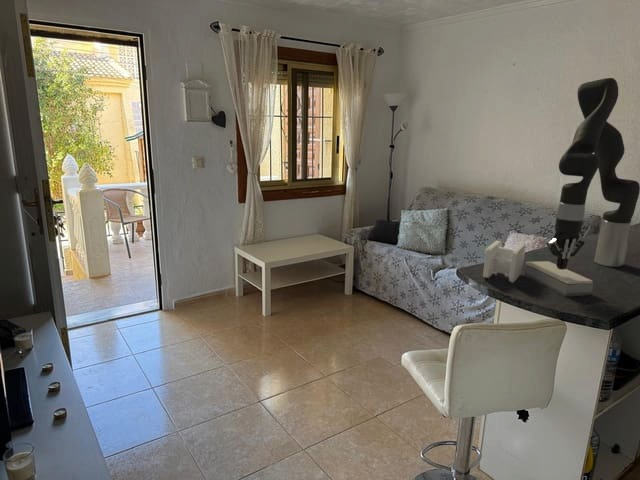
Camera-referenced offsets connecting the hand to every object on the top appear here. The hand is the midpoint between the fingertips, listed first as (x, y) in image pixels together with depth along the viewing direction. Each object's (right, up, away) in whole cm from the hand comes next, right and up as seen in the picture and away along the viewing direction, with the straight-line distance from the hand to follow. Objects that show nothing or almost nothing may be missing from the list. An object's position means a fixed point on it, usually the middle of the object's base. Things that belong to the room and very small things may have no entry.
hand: (561, 268), depth 147 cm
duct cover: (+1, -2, +5) cm, 6 cm away
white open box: (+2, -6, +6) cm, 9 cm away
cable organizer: (-14, -4, +13) cm, 20 cm away
